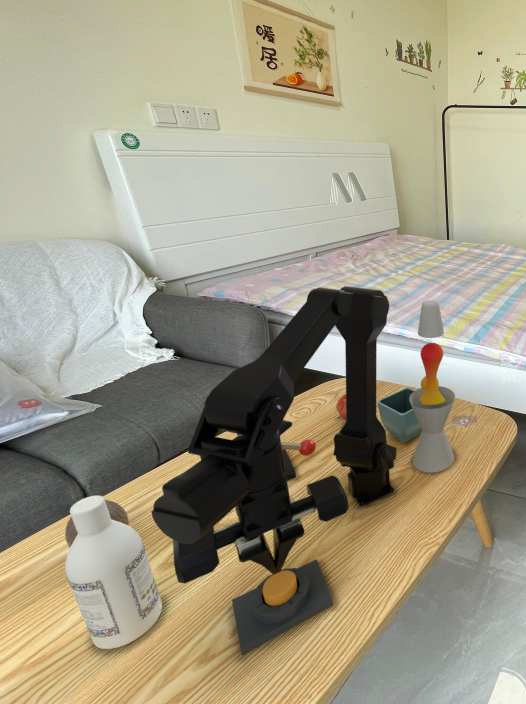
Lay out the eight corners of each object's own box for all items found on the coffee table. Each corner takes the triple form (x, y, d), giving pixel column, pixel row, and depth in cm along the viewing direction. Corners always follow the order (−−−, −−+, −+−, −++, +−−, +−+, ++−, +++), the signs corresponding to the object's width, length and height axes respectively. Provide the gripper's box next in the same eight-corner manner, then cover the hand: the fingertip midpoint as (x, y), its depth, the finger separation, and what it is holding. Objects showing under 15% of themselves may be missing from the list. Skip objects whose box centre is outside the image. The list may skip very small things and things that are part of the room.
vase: (97, 569, 64) (80, 523, 61) (60, 559, 66) (42, 513, 63) (144, 532, 71) (131, 489, 68) (110, 524, 72) (95, 481, 69)
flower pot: (408, 418, 105) (407, 386, 102) (434, 432, 100) (433, 398, 97) (378, 435, 98) (375, 401, 95) (404, 451, 94) (402, 415, 91)
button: (293, 574, 62) (292, 565, 62) (300, 595, 60) (298, 586, 59) (262, 589, 60) (260, 580, 59) (267, 612, 57) (265, 602, 57)
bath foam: (156, 589, 62) (120, 475, 55) (169, 621, 58) (132, 502, 51) (89, 625, 57) (40, 504, 50) (98, 664, 53) (47, 538, 46)
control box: (317, 565, 67) (315, 550, 66) (333, 605, 61) (331, 589, 60) (233, 606, 60) (229, 590, 59) (242, 655, 54) (238, 639, 53)
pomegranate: (336, 436, 101) (367, 418, 98) (319, 410, 100) (349, 391, 97) (355, 422, 108) (384, 404, 105) (338, 398, 107) (367, 379, 104)
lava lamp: (461, 465, 90) (462, 306, 79) (418, 478, 86) (413, 312, 74) (446, 441, 98) (445, 292, 86) (406, 452, 93) (399, 297, 82)
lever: (309, 451, 91) (316, 437, 91) (314, 459, 89) (320, 445, 89) (241, 446, 82) (247, 430, 82) (243, 455, 80) (250, 439, 80)
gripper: (320, 421, 65) (330, 504, 70) (160, 469, 53) (186, 564, 59) (345, 461, 57) (354, 552, 62) (162, 528, 45) (192, 632, 50)
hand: (276, 571), depth 58 cm, fingers closed
